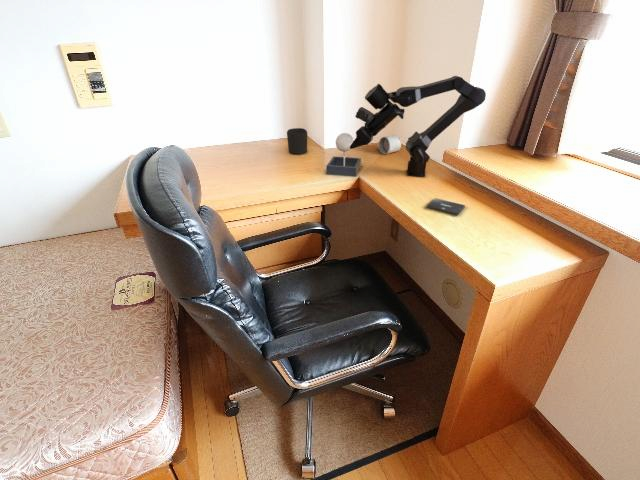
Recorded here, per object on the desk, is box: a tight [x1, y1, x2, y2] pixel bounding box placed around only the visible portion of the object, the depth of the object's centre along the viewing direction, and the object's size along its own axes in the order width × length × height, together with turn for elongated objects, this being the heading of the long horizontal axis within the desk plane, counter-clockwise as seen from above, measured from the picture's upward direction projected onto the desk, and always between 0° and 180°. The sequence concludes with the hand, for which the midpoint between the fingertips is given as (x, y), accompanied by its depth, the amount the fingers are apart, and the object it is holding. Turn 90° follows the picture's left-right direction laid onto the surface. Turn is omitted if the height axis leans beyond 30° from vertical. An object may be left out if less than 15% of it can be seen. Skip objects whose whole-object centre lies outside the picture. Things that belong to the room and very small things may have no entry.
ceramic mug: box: [377, 135, 402, 155], centre depth 162 cm, size 11×8×8 cm
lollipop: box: [335, 132, 355, 166], centre depth 140 cm, size 7×7×15 cm
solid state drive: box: [427, 197, 466, 216], centre depth 113 cm, size 7×10×1 cm
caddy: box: [326, 156, 362, 177], centre depth 143 cm, size 12×12×4 cm
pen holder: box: [286, 127, 308, 156], centre depth 163 cm, size 9×9×10 cm
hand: (353, 144), depth 137 cm, fingers open, 9 cm apart
